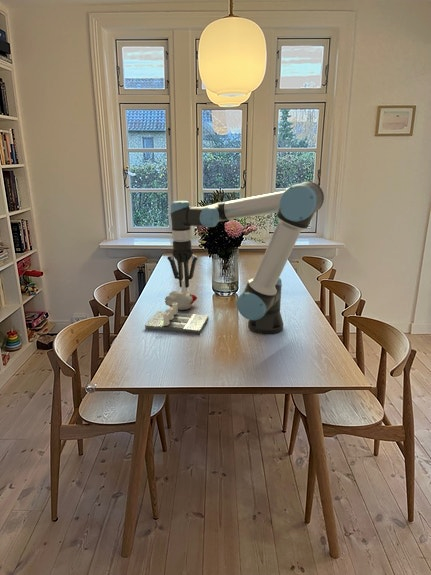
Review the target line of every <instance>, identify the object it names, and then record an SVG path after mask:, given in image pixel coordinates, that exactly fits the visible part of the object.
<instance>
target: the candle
mask: <svg viewBox="0 0 431 575" xmlns="http://www.w3.org/2000/svg"><path fill="white" fill-rule="evenodd" d="M197 299H198V298H197V296H196V295H194V294H191V293H189V292H188V291H187V295H186V296H184V295H182V291H179V290H173V291H171V292H169V293H168V295H166V296H165V299H164V300H165V301H164V302H165V305H166V306H168V307H172V304H173V303H178V311H184V310H188V311H189V310H190V309H191V307H192V306H193V304H194V302H195V301H197Z"/></svg>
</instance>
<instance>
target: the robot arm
mask: <svg viewBox="0 0 431 575" xmlns="http://www.w3.org/2000/svg"><path fill="white" fill-rule="evenodd" d="M324 200H325V193H324V191H323V189H322V187H321V186H320V185H319V184H317V183H315V182H313V181H304V182H300V183H295V184H292V185H290V186H289V187H287V188H286V189H285V190H283V191H277V192H273V193H266V194H262V195H261V194H260V195H256V196H250V197H245V198H244V197H243V198H238V199H233V200H227V201H219V202H214V203H212V204H208V205H204V206H191V204H190V202H189V200H188V201H187V200H175V201H172V202H171V203H170V218H171V232H172V235H171V236H172V249H173V251H172V252H171V253H172V254H170V255H169V256H167V258H166V259H167V260H168V261H169V263H170V264H169V265H170V267H171V269H172V270H171V271H172V273H173V277H174V279H177V280H178V281H179V288H181V292H182V295H184V296H186V295H187V292H188V288H189V287H190V280H192V278H194V275H195V269H196V263H197V261H198V259H199V256H198V255H195V254H194V253H193V250H192V240H191V239H192V234H191V233H192V232H191V227H203V228H215V227H216V226H217V225H218V224H219V222H225V221H229V220H237V219H243V218H250V217H257V216H262V215H270V214H276V218H277V225H276V226H275V229H274V231H273V232H272V236H271V238H270V241H269V243H268V245H267V247H266V250H265V252H264V254H263V256H262V259H261V261H260V263H259V266H258V268H257V270H256V273H255V275H254V276H253V277H252V278H248V281H247V283H246V285H245V287H244V290H243V292H242V293H241V294H239V296H238V298H237V300H236V308H237V310H238V312H239V314H240V315H241V316H242V317H243V318H245V319H246V320H248V321H247V328H248V329H249V331H251V332H252V333H255V334H259V335H264V336H265V335H268V336H269V335H276V334H279V333H281V332H282V331H283V330H284V322H283V321H284V320H283V318H282V314H281V313H282V312H281V300H282V286H283V285H282V283H283V282H282V279H281V277H280V276H281V274H282V272H283V270H284V268H285V266H286V264H287V262H288V260H289V257H290V255H291V253H292V251H293V249H294V248H295V247H294V246H295V245H296V243H297V241H298V238H299V236H300V234H301V232H302V231H304V230H307V229H308V227H309V225H310V223H311V221H312V220H313V217H314V214H315V213H317V212H319V210H320V209H321V207H323V204H324ZM190 259H191V260H192V261H191V263H190V264H191V265H190V266H189V262H190ZM175 260H176V261H175ZM176 262H177V263H176ZM176 264H177V265H176ZM189 267H190V269H189Z"/></svg>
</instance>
